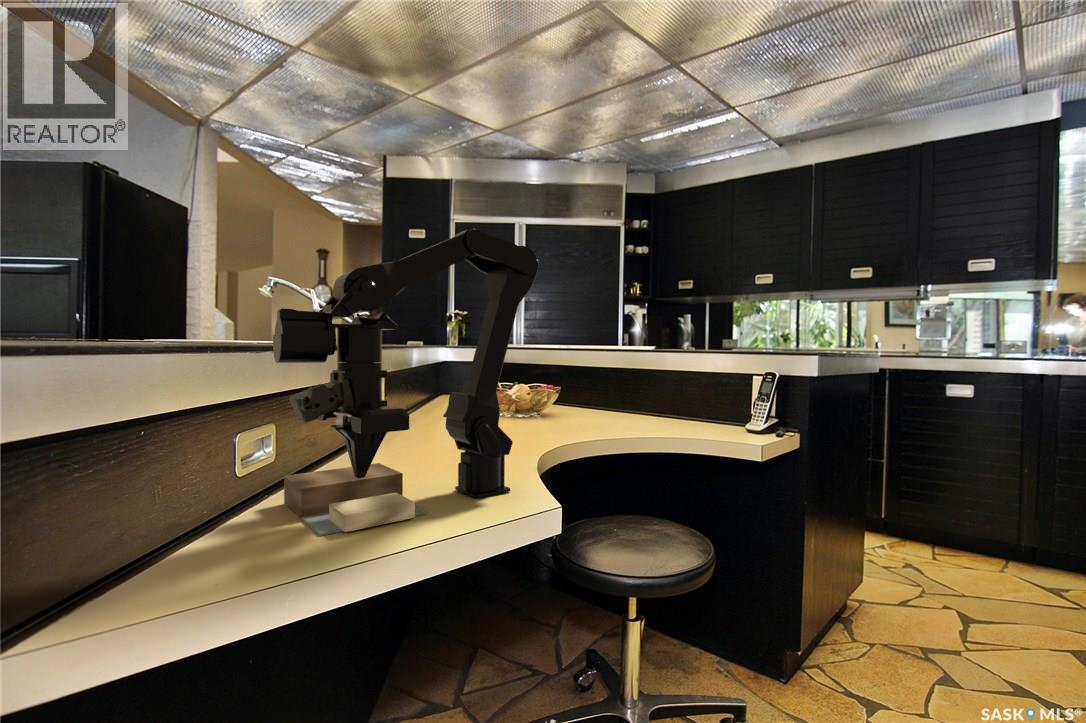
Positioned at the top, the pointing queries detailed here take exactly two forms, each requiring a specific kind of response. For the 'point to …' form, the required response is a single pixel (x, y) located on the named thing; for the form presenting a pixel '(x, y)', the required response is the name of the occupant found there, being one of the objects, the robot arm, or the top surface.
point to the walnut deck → (337, 487)
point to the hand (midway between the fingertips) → (359, 477)
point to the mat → (325, 526)
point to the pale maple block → (371, 511)
